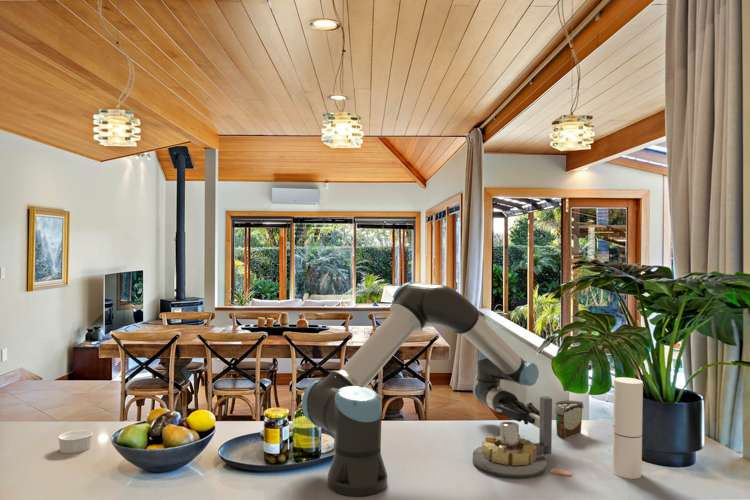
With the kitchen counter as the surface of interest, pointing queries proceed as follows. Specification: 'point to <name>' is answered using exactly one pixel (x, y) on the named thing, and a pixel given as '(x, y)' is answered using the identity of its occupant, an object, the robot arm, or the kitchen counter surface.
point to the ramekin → (75, 441)
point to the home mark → (561, 472)
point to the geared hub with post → (523, 442)
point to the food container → (568, 418)
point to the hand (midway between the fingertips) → (543, 424)
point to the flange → (511, 440)
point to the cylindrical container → (627, 427)
